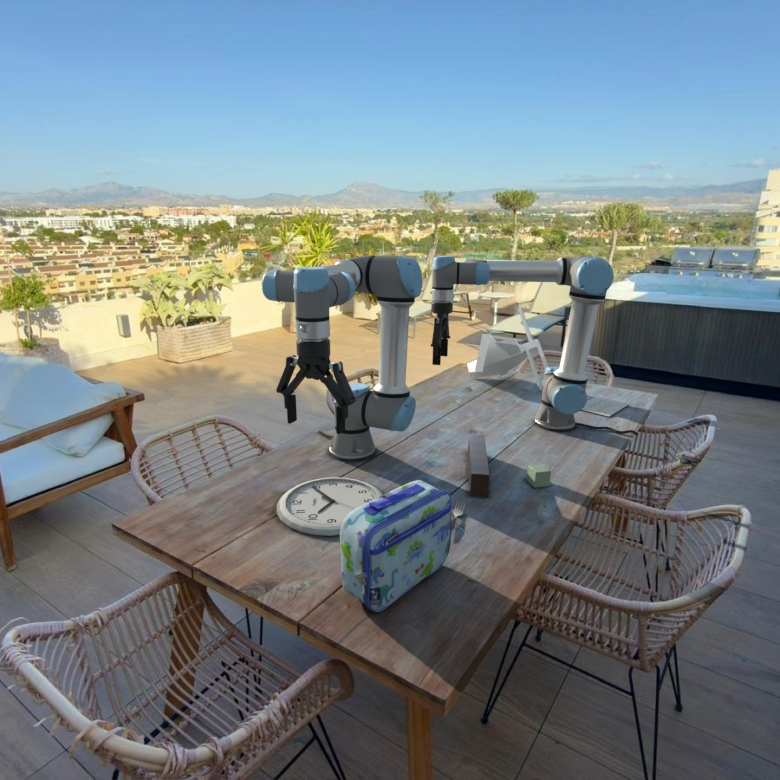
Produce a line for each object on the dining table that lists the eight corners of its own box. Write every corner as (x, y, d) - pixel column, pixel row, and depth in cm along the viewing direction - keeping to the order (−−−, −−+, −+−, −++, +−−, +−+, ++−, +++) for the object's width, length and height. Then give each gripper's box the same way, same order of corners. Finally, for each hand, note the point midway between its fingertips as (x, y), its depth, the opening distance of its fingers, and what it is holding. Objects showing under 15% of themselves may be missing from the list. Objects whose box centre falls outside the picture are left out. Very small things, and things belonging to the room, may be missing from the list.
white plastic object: (488, 419, 265) (468, 396, 240) (469, 347, 287) (449, 319, 262) (559, 395, 253) (546, 369, 228) (534, 321, 275) (519, 290, 250)
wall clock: (392, 527, 129) (268, 531, 127) (391, 533, 130) (269, 537, 127) (383, 473, 158) (282, 475, 155) (383, 478, 158) (282, 480, 156)
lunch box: (369, 626, 100) (370, 530, 93) (334, 598, 107) (332, 507, 101) (455, 567, 117) (460, 483, 111) (419, 547, 124) (423, 467, 118)
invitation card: (608, 416, 214) (573, 407, 224) (608, 416, 214) (573, 408, 224) (628, 404, 229) (594, 396, 238) (628, 405, 229) (594, 397, 238)
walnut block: (467, 452, 178) (468, 433, 176) (482, 453, 177) (484, 434, 175) (470, 495, 149) (471, 473, 147) (487, 497, 149) (489, 474, 147)
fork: (441, 537, 129) (441, 530, 128) (456, 506, 143) (456, 499, 142) (451, 539, 128) (452, 532, 127) (465, 508, 142) (466, 501, 142)
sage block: (541, 478, 160) (542, 463, 159) (549, 486, 156) (551, 470, 154) (526, 480, 159) (527, 465, 158) (534, 487, 155) (535, 472, 153)
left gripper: (257, 335, 119) (263, 422, 125) (353, 347, 108) (354, 442, 115) (278, 330, 125) (282, 413, 132) (370, 341, 115) (370, 430, 121)
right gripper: (438, 296, 195) (436, 352, 202) (423, 305, 172) (422, 367, 179) (458, 297, 193) (456, 353, 200) (446, 306, 170) (443, 369, 177)
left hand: (316, 426), depth 123 cm, fingers open, 13 cm apart
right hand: (440, 360), depth 189 cm, fingers open, 13 cm apart
